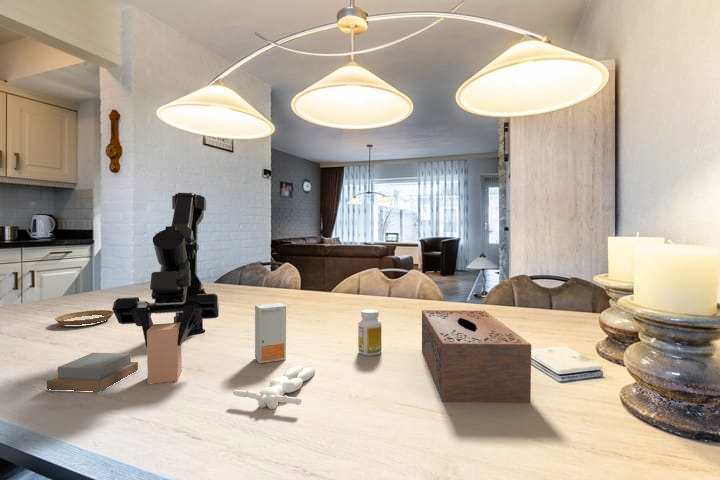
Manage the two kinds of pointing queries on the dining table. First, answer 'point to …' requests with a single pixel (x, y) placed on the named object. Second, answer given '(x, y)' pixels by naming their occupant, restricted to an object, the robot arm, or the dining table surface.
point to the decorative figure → (280, 388)
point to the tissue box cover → (475, 357)
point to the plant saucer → (105, 313)
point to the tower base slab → (91, 380)
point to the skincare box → (270, 332)
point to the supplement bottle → (369, 333)
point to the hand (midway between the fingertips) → (163, 346)
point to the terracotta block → (163, 353)
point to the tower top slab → (94, 366)
